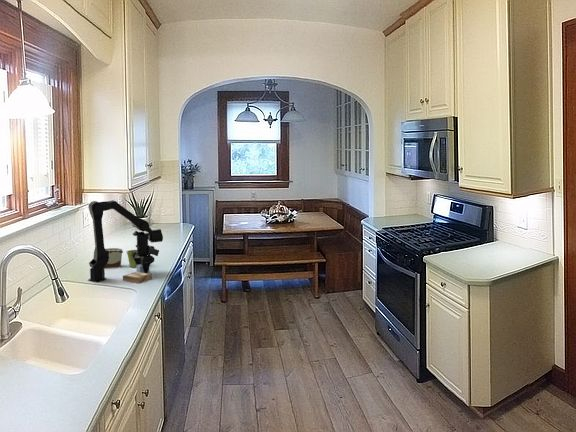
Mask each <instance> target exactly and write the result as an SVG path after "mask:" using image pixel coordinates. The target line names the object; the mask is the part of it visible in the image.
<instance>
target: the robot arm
mask: <svg viewBox="0 0 576 432" xmlns="http://www.w3.org/2000/svg"><path fill="white" fill-rule="evenodd" d="M87 206H88V212H89V215H90V216H91V218H92V225H93V226H92V228H93V237H94V238H93V239H94V251H93V258H92V259H91V260H90V261H89V262H88V265H89V267H90V268H89V275H90V278H89V279H87V281H89V280H90V281H89V282H95V281H96V282H97V283H98V282H103V281H105V280H107V279H108V278H107V277H106V276H105V275H106V273H105V268H104V267H105V265H106V264H107V263H108V259H110V258H109V251H108V250H107V249H108V248H105V241H104V230H103V216H104V212H105V211H110V210H114V211H115V212H116V213H118V214H119V215H121V216H122V217H123V218H125V219H126V220H128V221H129V223H131V224H132V225H133V227H134V228H135V229H137V230H135V231H134V232H133V233H132V235H133V236H134V237H136V244H135V248H136V250H137V251H133V252H132V257H133V259H134V261H135V263H136V265H140V264H141V265H142V268H143V270H144V273H148V270H149V271H150V267H151V265H152V264H154V262H155V257H154V256H156V257H158V255H159V254H160V253H159V252H160V249H157V248H156V247H155V246H154V245H150V244H149V242H150V243H151V244H152V243H153V244H154V243H161V242H163V240H164V236H163V233H162V229H160V228H156V229H152V228H151V227H150V224H149V222H148V221H147V220H146V219H143V218H141V217H140V216H139V217H138V216H137V215H135V214H133V213H132V212H131V211H130V210H128V209H127V208H125V207H124V206H122V205H121V204H119V203H118V202H117V201H115V200H106V201H97V200H92V201H90V202H89V204H88V205H87ZM138 230H139V231H138Z"/></svg>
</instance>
